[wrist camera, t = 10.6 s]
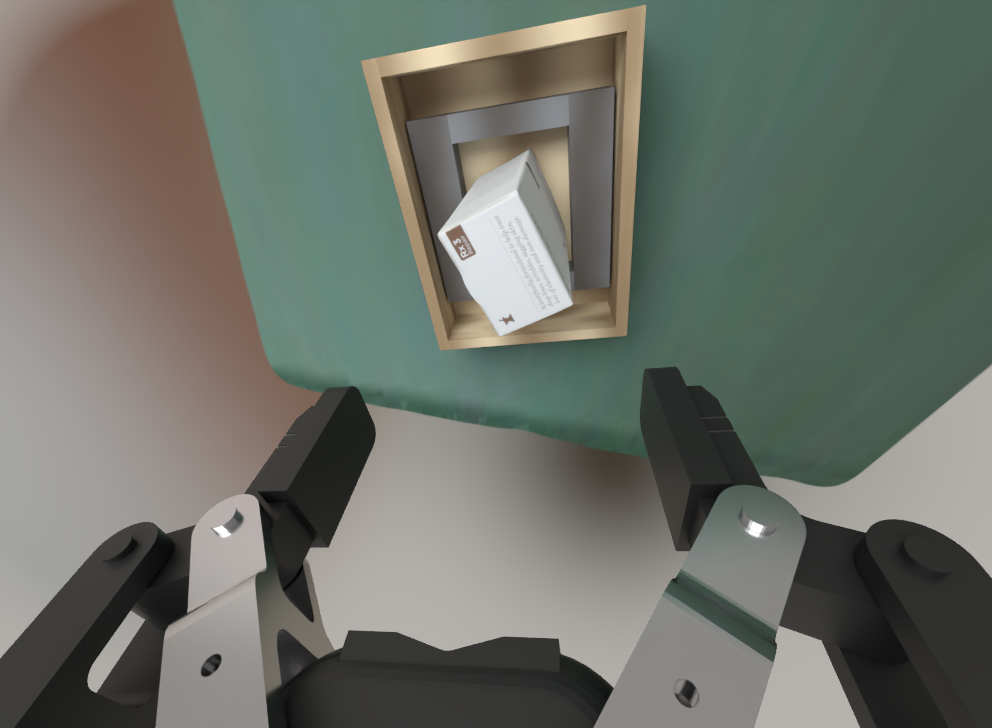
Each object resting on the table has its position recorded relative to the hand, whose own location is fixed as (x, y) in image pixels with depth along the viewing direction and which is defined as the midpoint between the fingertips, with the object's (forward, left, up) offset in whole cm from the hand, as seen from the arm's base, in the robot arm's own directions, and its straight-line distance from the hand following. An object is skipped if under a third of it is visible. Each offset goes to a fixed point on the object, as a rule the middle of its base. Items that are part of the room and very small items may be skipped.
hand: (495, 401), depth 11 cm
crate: (0, 0, -22) cm, 22 cm away
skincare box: (0, 0, -21) cm, 21 cm away
